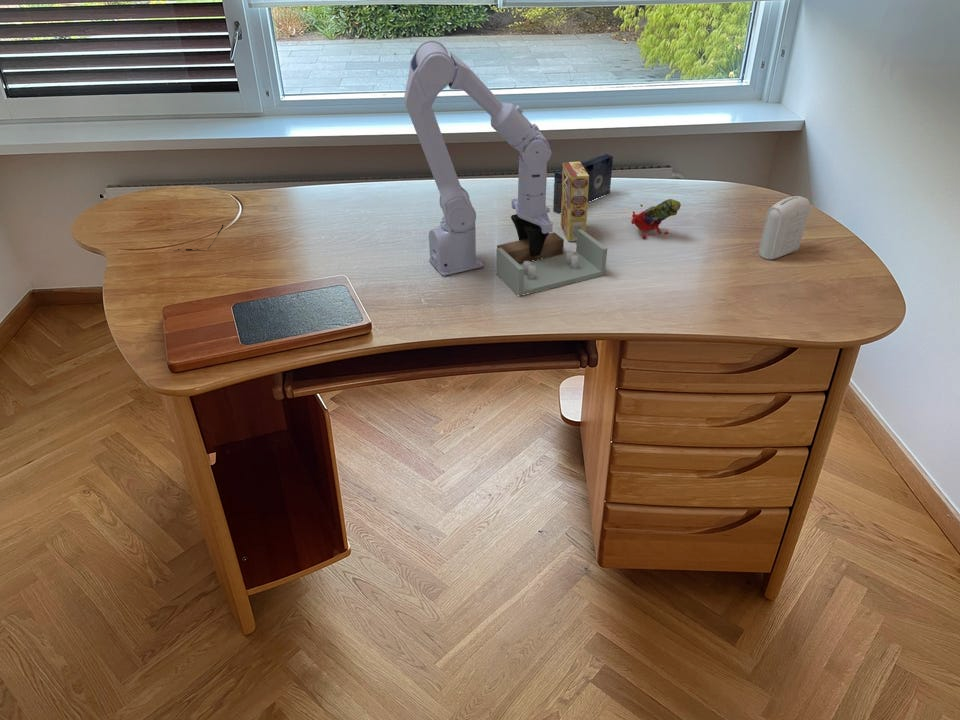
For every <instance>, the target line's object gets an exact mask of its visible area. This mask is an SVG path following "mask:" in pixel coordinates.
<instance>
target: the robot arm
mask: <svg viewBox="0 0 960 720" xmlns="http://www.w3.org/2000/svg"><path fill="white" fill-rule="evenodd" d="M449 53H450V54H449ZM407 76H408V77H407V81H406V87H405V92H404V97H403V99H404V104H405V106H406V107H405V108H406V109H407V112H408V115H409V117H410V120H411V122H412V123H411V124H412V125H413V127H414V131H415V133H416V136H417V138H418V141H419V144H420V145H421V148H422V150H423V151H422V152H423V154H424V156H425V159H426V161H427V164H428V167H429V169H430V171H431V175H432V177H433V179H434V181H435V185H436V186H437V190H438V192H439V206H440V208H441V210H442V213H443V216H442V218H441V220H440V224H439V225H438V226H436V227H435V228H434V227H433V228H432V229H430V231H429V232H428V245H429V259H428V261H429V263H430V264H431V265H433V267H434V268H435V269H436V271H437V272H439V273H440V275H441V276H449V275H454V274H458V273H462V272H466V271H471V270H475V269H479V268H483V267H484V263H483V262H482V261H481V260H480V259H479V258H478V257H477V239H476V238H477V237H476V232H477V231H476V230H477V229H476V221H477V213H476V210H475V207H473V205H472V202H471V200H470V196H469V192H467V190H466V189H465V188H463V186H462V185H461V184H460V180H459V178H458V175H457V172H456V170H455V167H454V164H453V162H452V158H451V156H450V154H449V150H448V148H447V145H446V142H445V140H444V137H443V135H442V131H441V129H440V126H439V123H438V121H437V118H436V116H435V113H434V110H433V104H434V102H435V100H436V99H437V97H438V95H439V94H440V93H441V92H442V91H443V90H444V89H445V88H447V87H449V89H450V90H462V91H463V92H465V94H467V95H468V96H469V97H470V98H471V99H472V100H473V101H475V103H477V104H478V105H479V106H480V107H481V108H482V109H483V110H484V111H485V113H487V114H488V115H489V116H490V126H491V128H492V129H493V130H495V132H496V133H498V135H499V136H500V137H502V138H503V140H505V142H507V144H509V145H510V147H512V149H515V150H516V151H517V152H518V153H519V156H518V157H519V159H518V165H519V166H518V174H517V175H518V176H517V177H518V181H517V182H518V183H517V185H518V186H517V187H518V188H517V189H518V190H517V198H512V199H511V208H512V209H513V210H515V213H516V214H512V215H510V219H511V221H512V223H513V224H514V227H515V229H516V233H517V238H518V241H519V240H523V239H528V240H529V250H530V255H531V256H532V257H534V256H538V255H540V254H541V251H542V248H543V245H544V242H545V240H546V238H547V236H548V234H550V233H553V228H554V227H553V225H554V224H553V222H552V221H551V219H550V217H549V215H548V213H550V212H551V209H550V207H548V206H547V205H546V203H547V202H546V201H547V181H548V180H547V177H548V174H547V173H548V170H547V169H548V168H547V167H548V166H547V163H548V161H549V160H550V158H551V156H552V153H553V152H552V151H553V150H551V146H550V144H549V141H548V140H547V139H546V137H545V136H544V134H543V133H542V132H541V131H540V128H539V126H537V125H536V123H533V124H532V123H531V121H530V120H528V118H527V117H525V115H524V114H523V112H524V110H523V109H522V108H521V107H520V105H519V104H517V105H516V106H515V105H514V104H513V103H512V102H502V101H500V99H499V98H498V97H497V96H496V95H495V94H494V93H493V92H492V91H491V89H489V88H488V86H487V85H486V84H485V83H484V82H483V81H482V80H481V79H480V77H479V76H478V75H477V74H476V73H475V72H474V71H473V70H472V69H471V68H470V66H468V65H467V64H466V63H465V62H464V61H463V60H462V59H460V58H459V56H457V55H455V54H454V53H453V52H452V51H449V52H448V50H447V48H446V47H445V46H444V44H442V43H441V42H440V41H437V40H427V41H424V42H422V43H421V44H420V45H419V46H417V49H416V50H415V51H414V53H413V55H412V57H411V59H410V60H409V71H408V75H407Z"/></svg>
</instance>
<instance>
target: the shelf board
mask: <svg viewBox="0 0 960 720" xmlns="http://www.w3.org/2000/svg"><path fill="white" fill-rule="evenodd" d="M564 244H565V240H564V238H562V236H560V235H559V234H558V233H557V232H554V231H553V232H550V233H549V234H548V236H547V238H546V240H545V242H544V245H543V248H542V251H541V254H540V255H538V256H534V257H532V256H531V255H530V250H529V240H528V239H523V240H519V239H518V240H515V241H512V242H511V241H510V242H506V243H502V244H497V246H496V247H497V248H502V249H503V250H504V251H505V252H506V253H508V254H509V255H510V256H511V257H512V258H513V259H514V260H515V261H516V262H517V263H518V264H519V265H521V264H520V263H524V261H531V262H533V261H532V260H536V261H538V260H537V259H540V260H542V259H541V258H544V259H547V257H548V258H551V257H555V255H557V256H559V255H560V254H561V255H564V246H565V245H564ZM497 248H496V249H497Z"/></svg>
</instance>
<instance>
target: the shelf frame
mask: <svg viewBox="0 0 960 720" xmlns="http://www.w3.org/2000/svg"><path fill="white" fill-rule="evenodd" d="M575 249H576V250H575V251H573V250H567V251H566V253H565V254H564V253H563V254H561V255H557V256H552V257H548V258H544V259H540V260H536V261H531V262H530V261H524V263H523V264H518V263H517V262H516V261H515V260H514V259H513V258H512V257H511V256H510V255H509V254H508V253H506V252H505V251H504V250H503V249H502V248H496V275H497V276H498V277H499V279H500V280H501V281H503V282H504V284H506V285H507V286H508V288H510V290H511V291H512V292H514V293H515V295H517V296H518V295H519V296H518V297H521V296H520V295H523V294H527V293H531V294H533V293H532V292H535V293H537V292H536V291H539V292H542V291H541V290H543V291H546V290H545V289H547V290H550V289H549V288H551V289H554V288H553V287H555V288H558V287H557V286H559V287H562V285H563V286H566V284H567V285H571V284H574V282H575V283H577V281H579V282H582V281H585V280H586V281H587V280H589V279H594V278H598V277H601V276H605V275H606V268H607V258H608V257H607V256H608V248H607V247H606V246H605V245H603V244H602V243H600V242H599V241H598V240H597V239H596V238H594V237H592V236H591V235H590V234H588V232H587V231H586V232H584V231H583V230H582V229H581V230H577V241H576V248H575ZM570 283H571V284H570ZM527 295H528V294H527ZM523 296H524V295H523Z"/></svg>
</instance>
